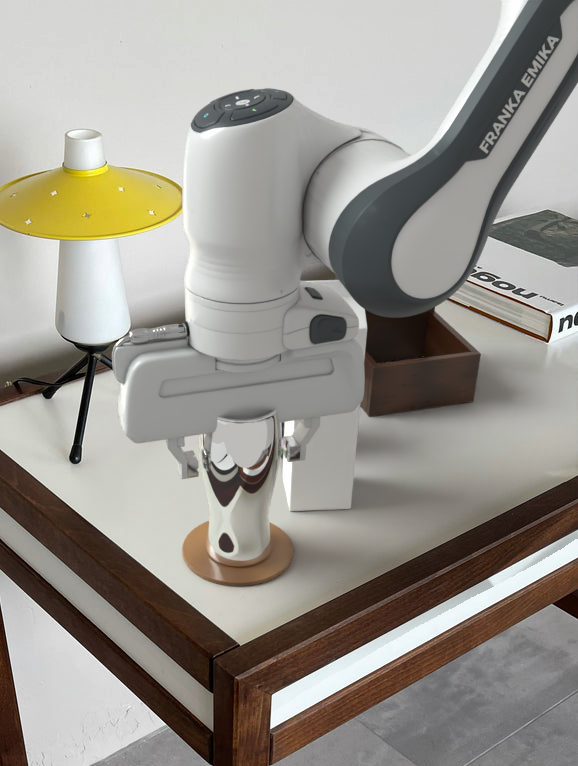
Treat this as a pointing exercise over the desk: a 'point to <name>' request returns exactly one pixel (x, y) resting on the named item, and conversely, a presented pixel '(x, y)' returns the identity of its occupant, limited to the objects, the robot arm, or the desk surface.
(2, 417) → the desk surface
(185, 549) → the coaster
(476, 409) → the desk surface
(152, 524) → the desk surface
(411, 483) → the desk surface
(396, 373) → the cubby
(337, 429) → the milk
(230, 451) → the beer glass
